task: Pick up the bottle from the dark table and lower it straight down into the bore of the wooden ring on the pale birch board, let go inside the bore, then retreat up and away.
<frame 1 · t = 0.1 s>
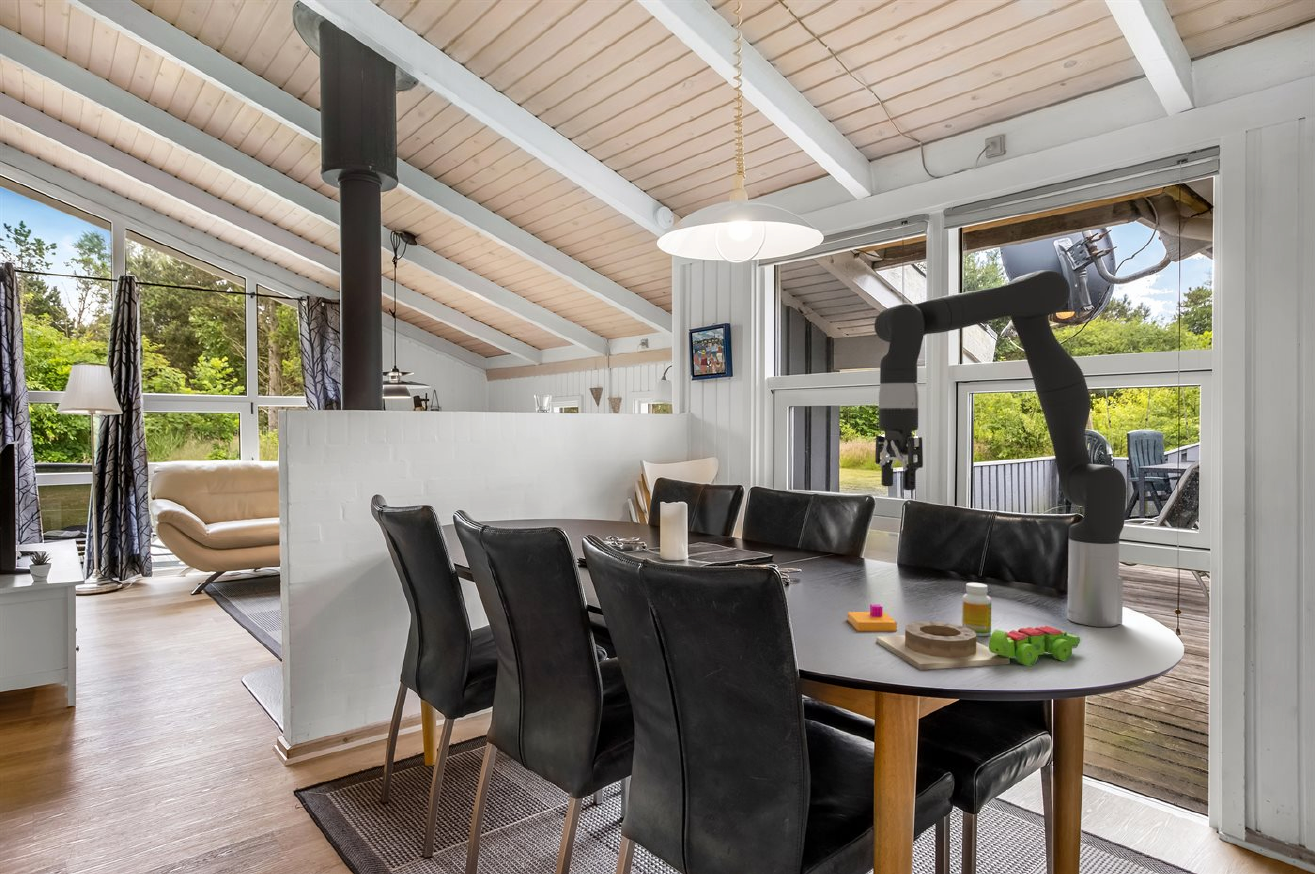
hand: (897, 488, 148), 29 cm above the table, fingers open, 8 cm apart
toy crocodile: (1033, 659, 134), on the table
flat beige square board: (939, 652, 136), on the table
supplement bottle: (976, 633, 149), on the table
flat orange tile: (871, 628, 154), on the table
wooden ring: (940, 638, 136), on the flat beige square board, point 2 cm above the table
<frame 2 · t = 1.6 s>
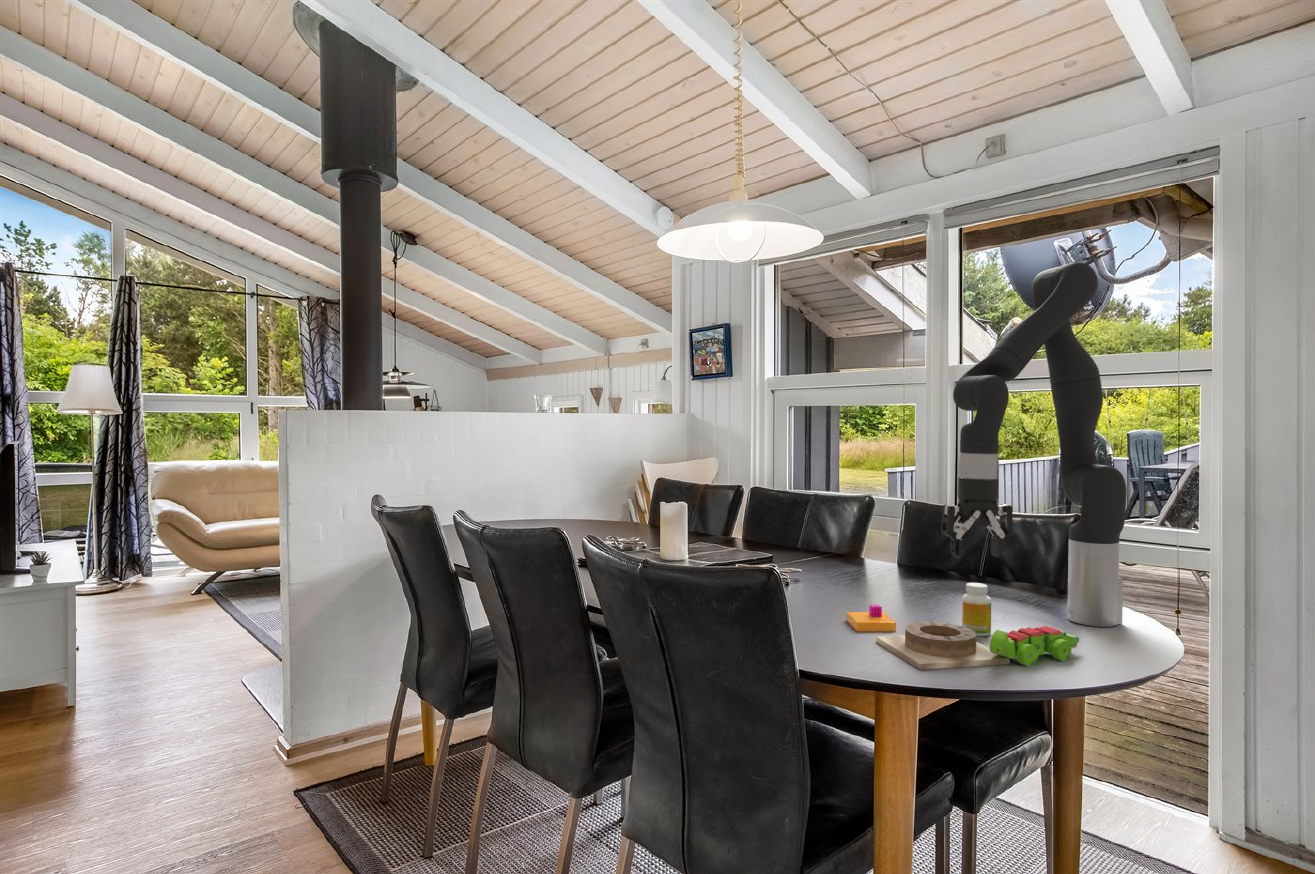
hand: (976, 556, 148), 15 cm above the table, fingers open, 8 cm apart
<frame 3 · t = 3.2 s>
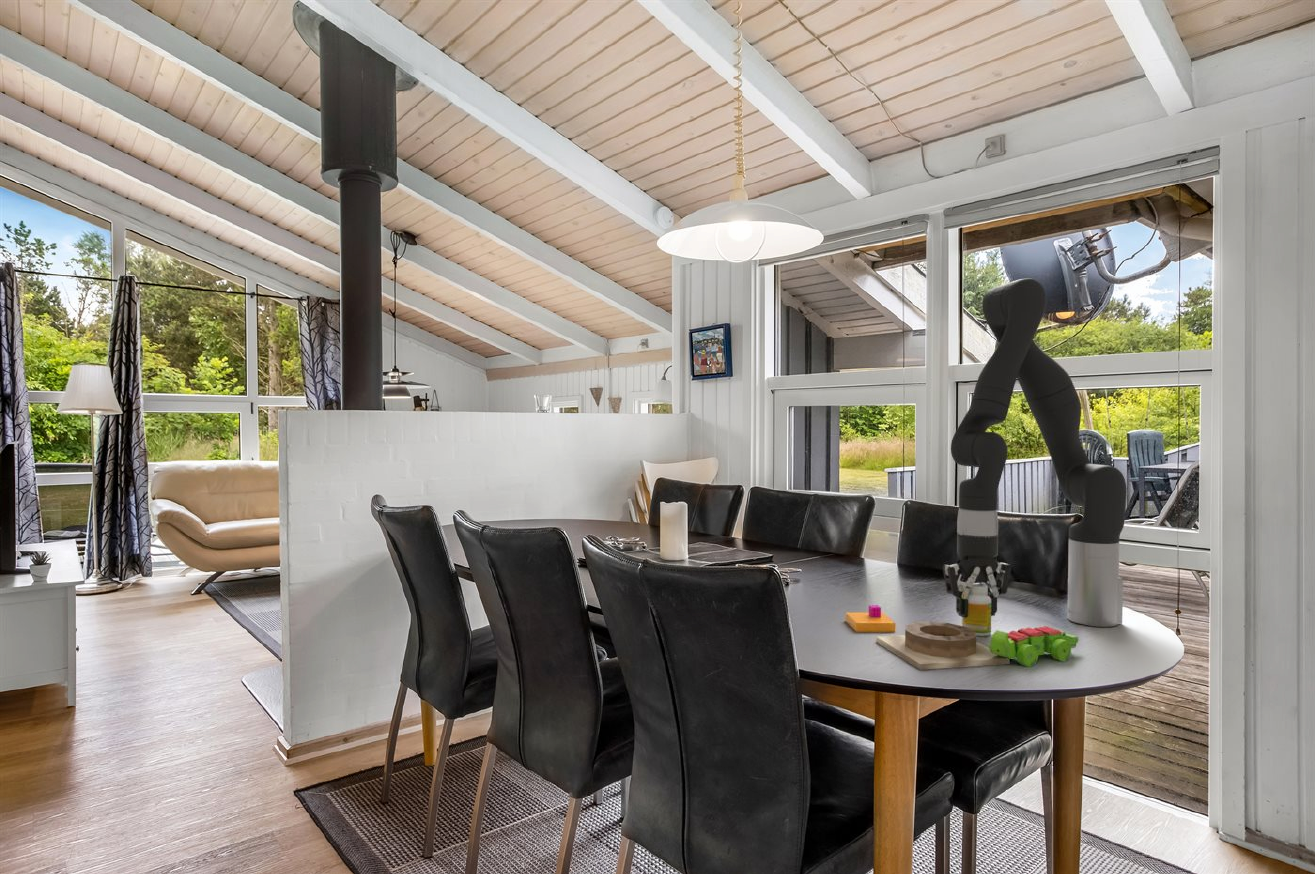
hand: (976, 615, 149), 4 cm above the table, fingers closed on supplement bottle, 5 cm apart
supplement bottle: (976, 633, 149), on the table, touching gripper
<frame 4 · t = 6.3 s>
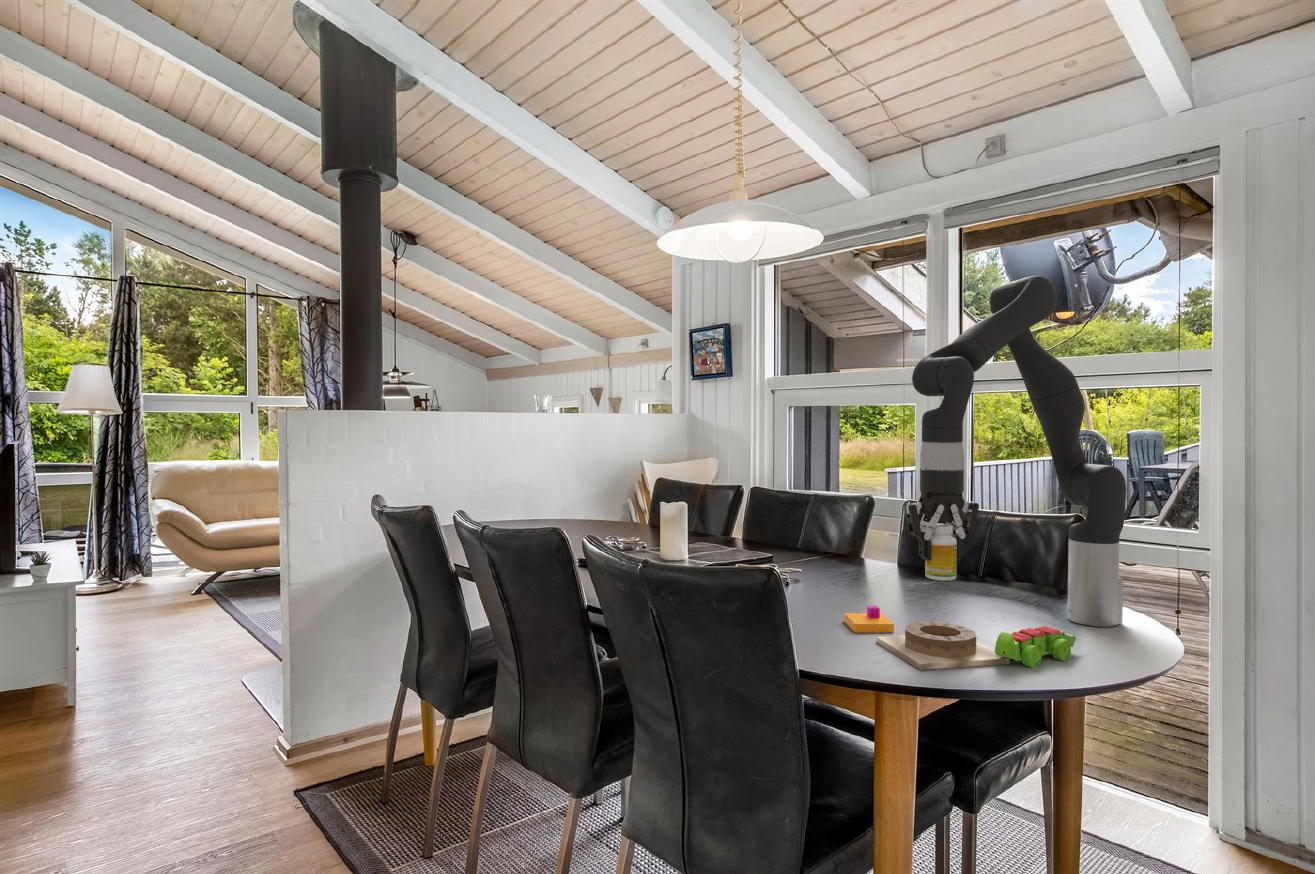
hand: (940, 558, 136), 17 cm above the table, fingers closed on supplement bottle, 5 cm apart
supplement bottle: (940, 578, 136), point 14 cm above the table, touching gripper
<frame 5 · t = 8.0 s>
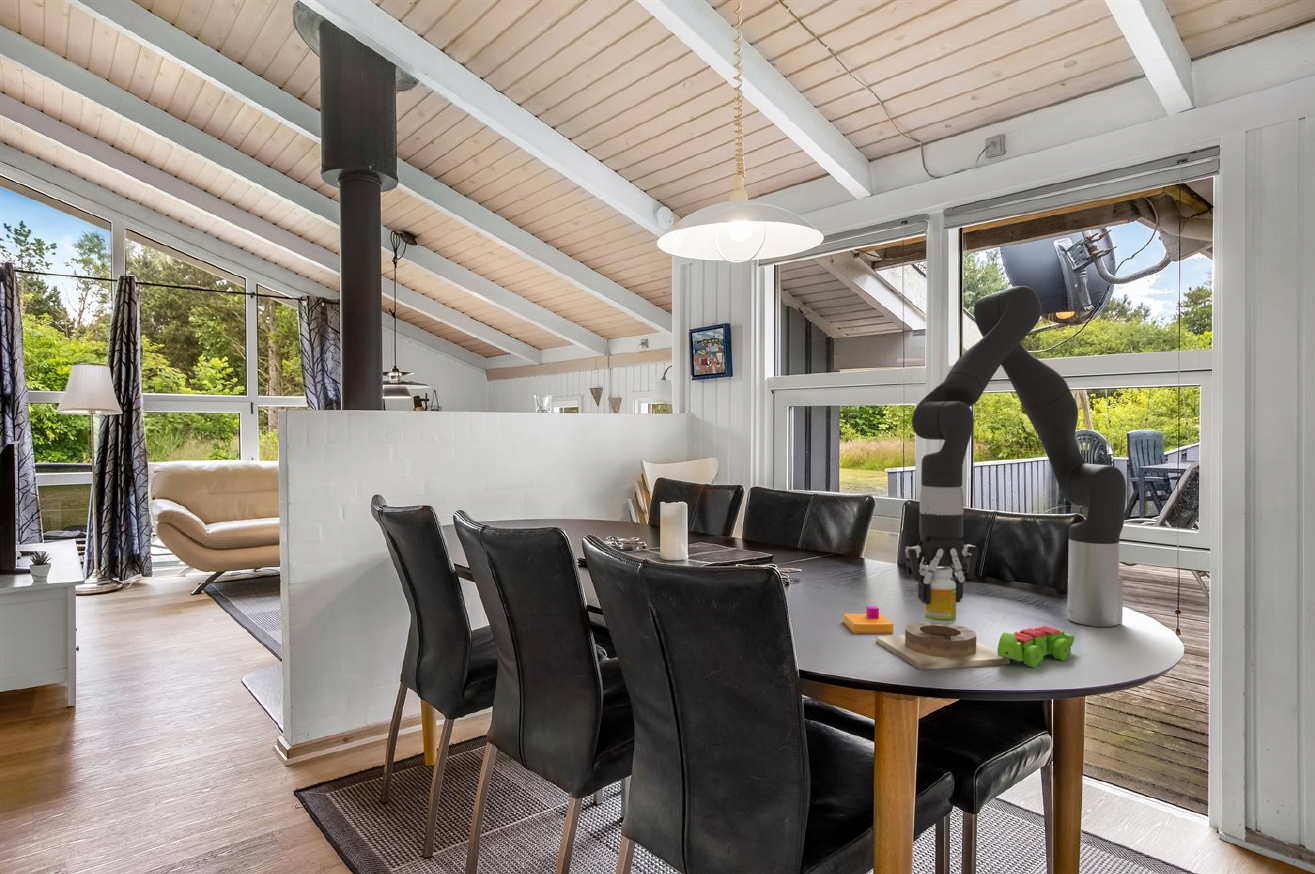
hand: (940, 601, 136), 9 cm above the table, fingers closed on supplement bottle, 5 cm apart
supplement bottle: (940, 621, 136), point 6 cm above the table, touching gripper
when the fingers open (6 cm above the table, at t = 9.4 s): supplement bottle drops 1 cm, resting on flat beige square board.
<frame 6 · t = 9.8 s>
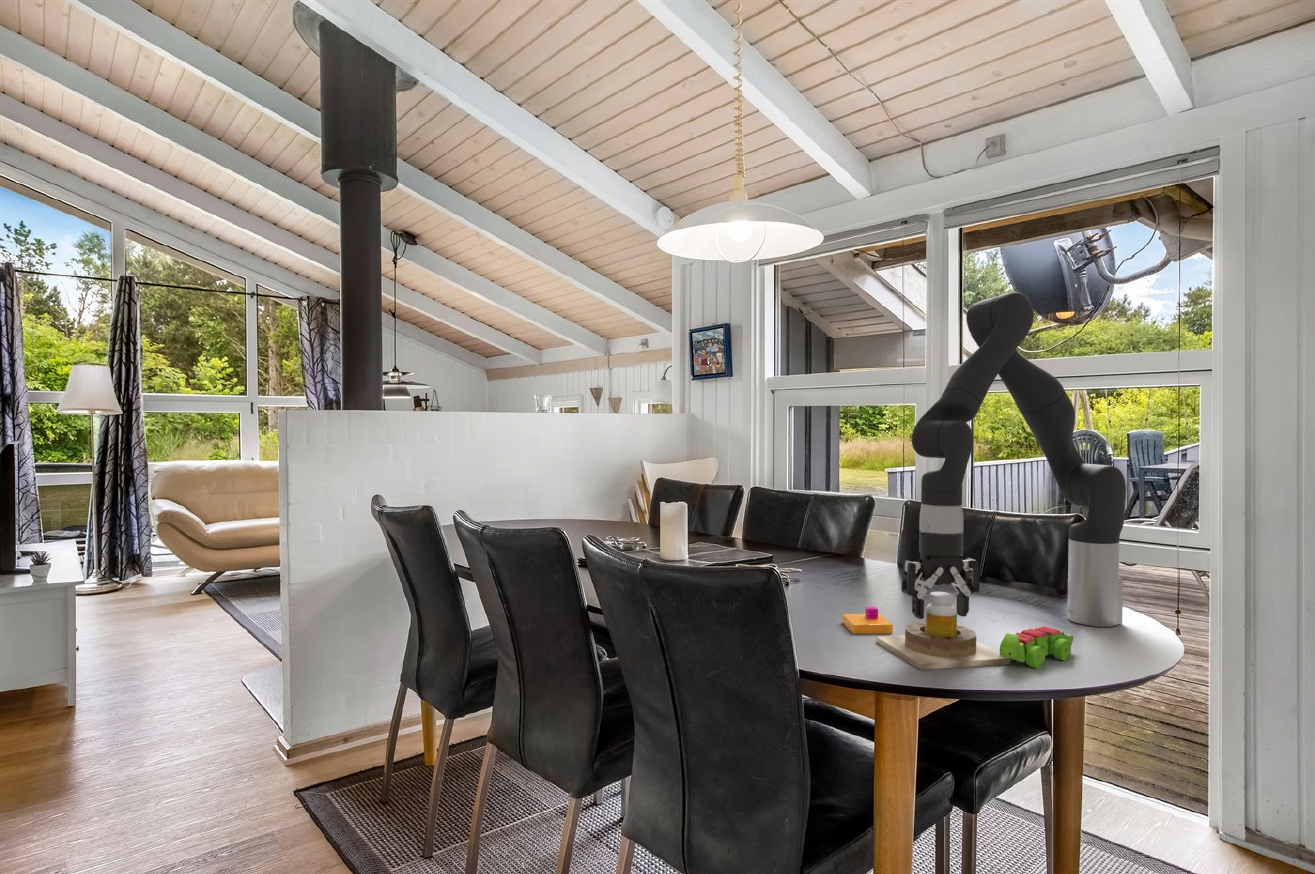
hand: (940, 616, 136), 7 cm above the table, fingers open, 8 cm apart
supplement bottle: (940, 647, 137), point 1 cm above the table, touching flat beige square board
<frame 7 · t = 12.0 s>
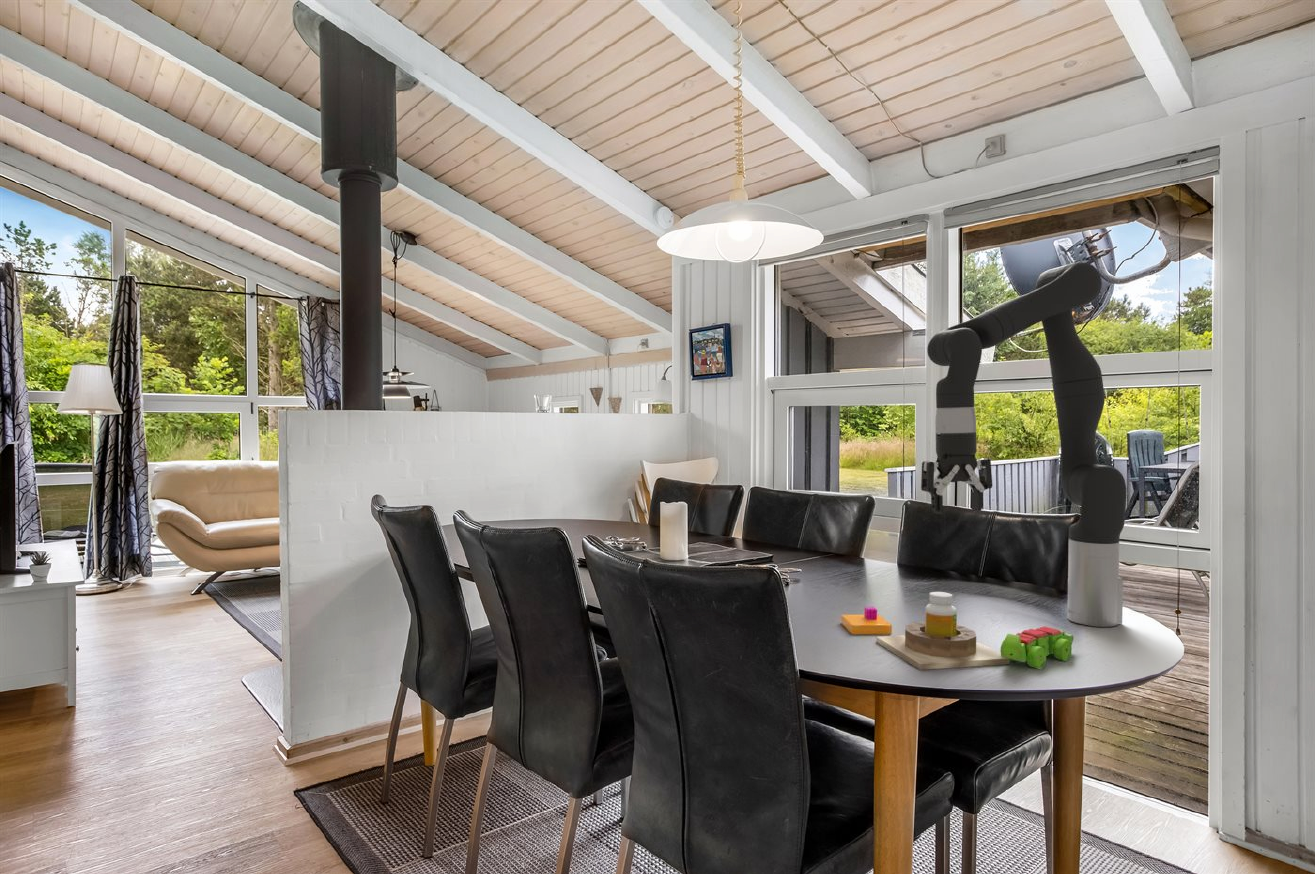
hand: (957, 512, 148), 24 cm above the table, fingers open, 8 cm apart
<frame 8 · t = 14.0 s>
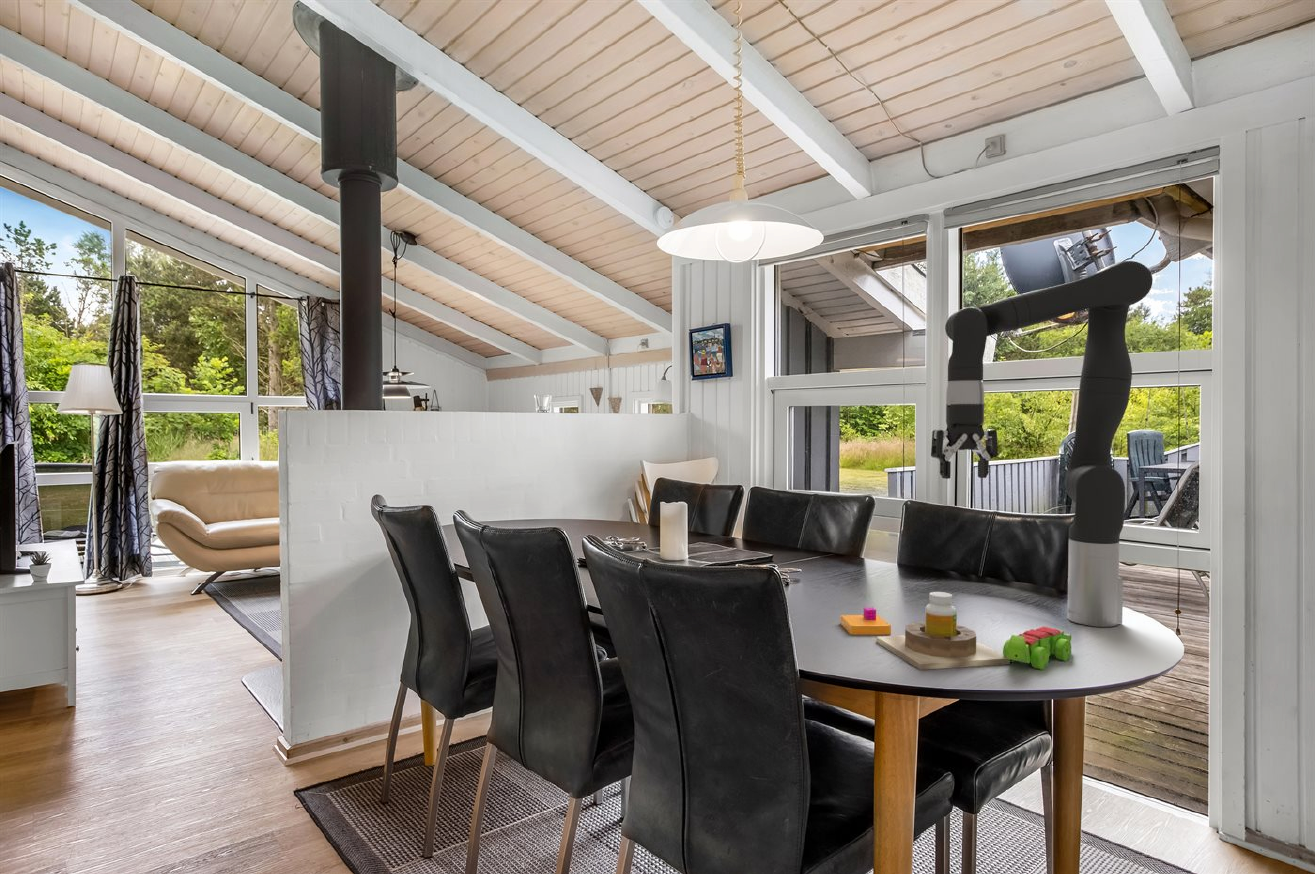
hand: (964, 478, 159), 30 cm above the table, fingers open, 8 cm apart
at the end: supplement bottle 0.3 cm from the wooden ring (horizontally); supplement bottle point 0.8 cm above the table; supplement bottle tilted 0° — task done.
